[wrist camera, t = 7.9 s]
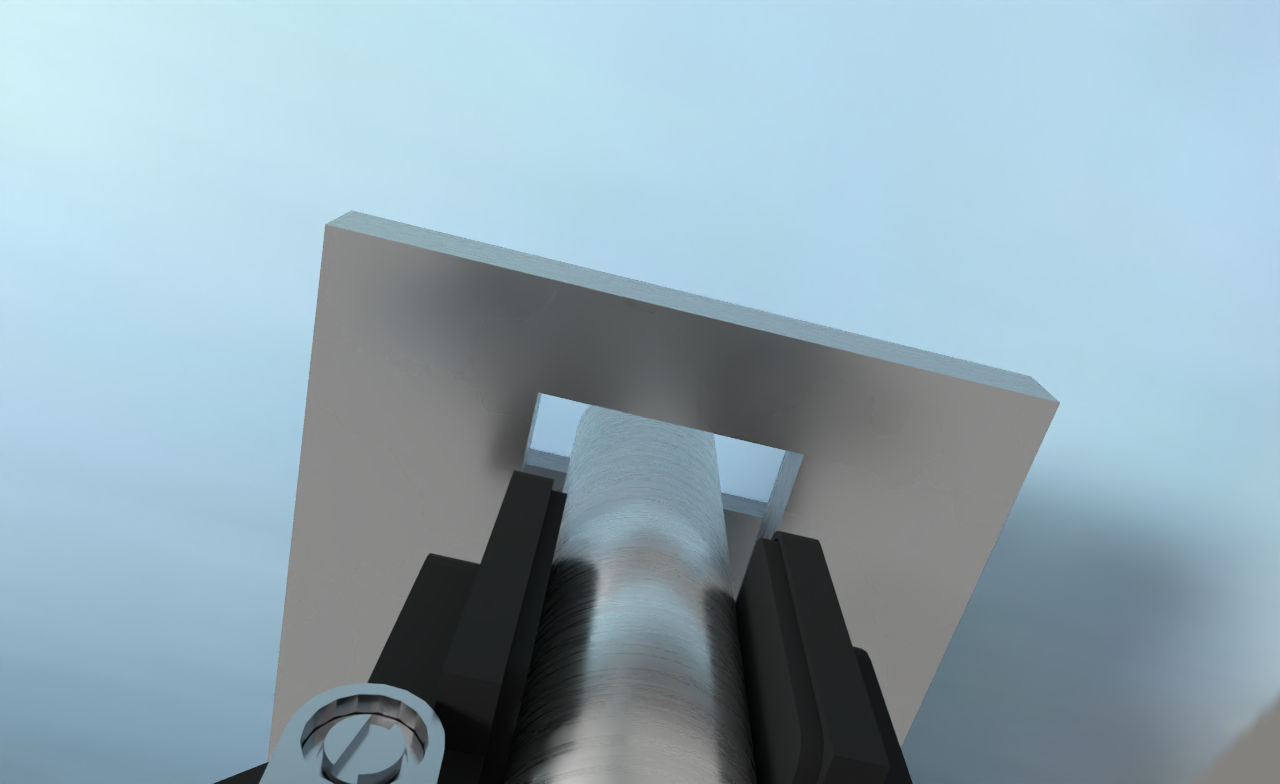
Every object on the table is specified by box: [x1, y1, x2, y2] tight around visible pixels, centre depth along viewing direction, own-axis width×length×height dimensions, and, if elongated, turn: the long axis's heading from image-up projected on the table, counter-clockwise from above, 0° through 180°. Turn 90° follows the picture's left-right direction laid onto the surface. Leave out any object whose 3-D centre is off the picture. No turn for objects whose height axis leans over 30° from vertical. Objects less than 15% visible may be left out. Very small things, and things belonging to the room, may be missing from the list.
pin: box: [502, 405, 758, 784], centre depth 10 cm, size 3×3×14 cm
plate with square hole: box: [268, 211, 1060, 762], centre depth 17 cm, size 20×10×11 cm, turn 166°
